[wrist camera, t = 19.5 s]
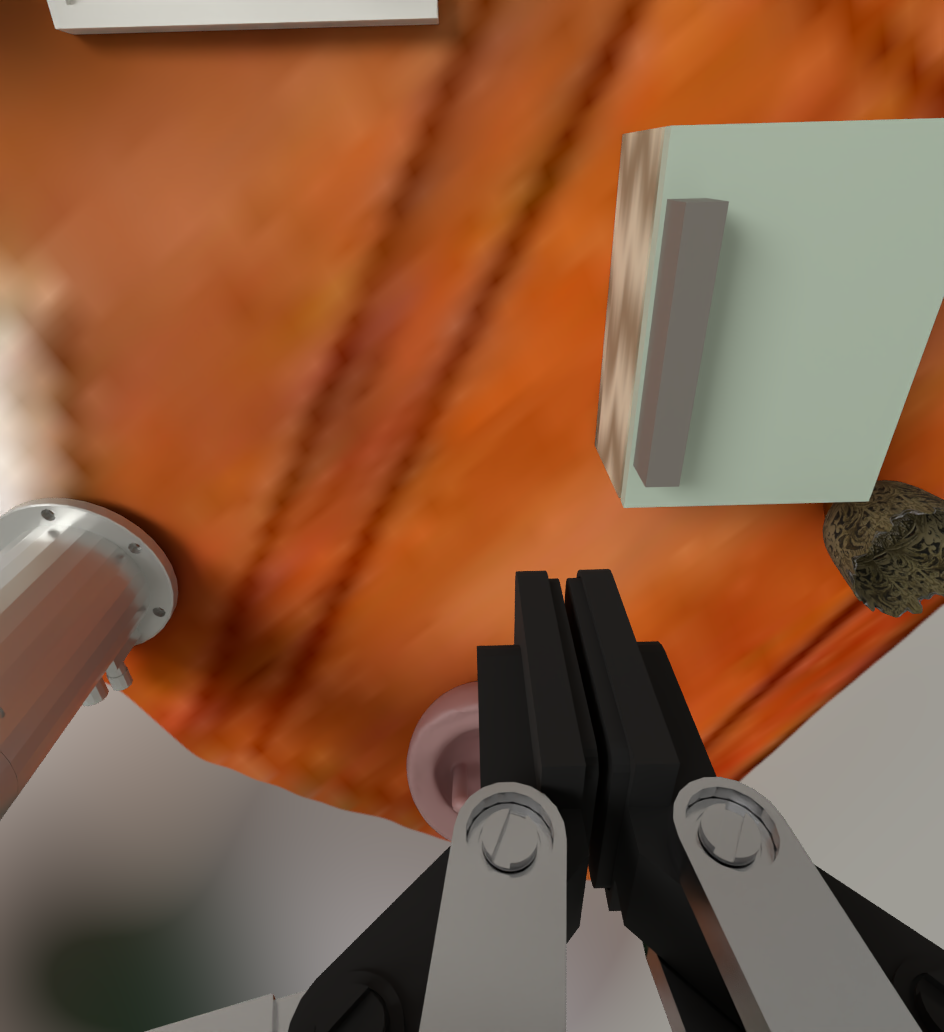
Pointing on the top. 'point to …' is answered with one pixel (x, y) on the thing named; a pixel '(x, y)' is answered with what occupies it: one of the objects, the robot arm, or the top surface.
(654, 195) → the birch box
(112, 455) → the top surface
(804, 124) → the lid
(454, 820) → the mortar and pestle
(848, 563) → the cup
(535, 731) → the robot arm
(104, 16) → the white dish
